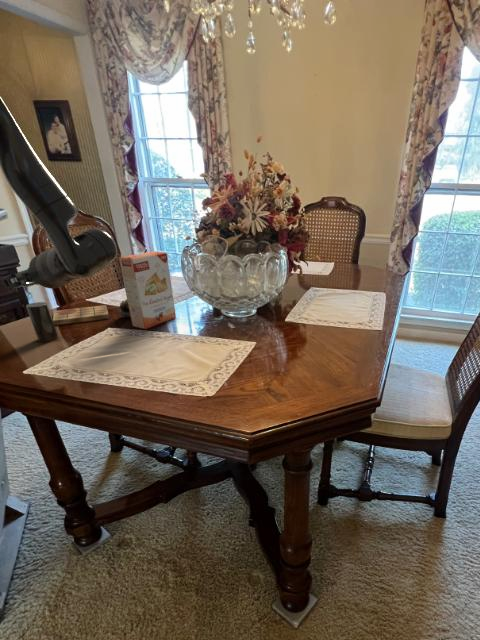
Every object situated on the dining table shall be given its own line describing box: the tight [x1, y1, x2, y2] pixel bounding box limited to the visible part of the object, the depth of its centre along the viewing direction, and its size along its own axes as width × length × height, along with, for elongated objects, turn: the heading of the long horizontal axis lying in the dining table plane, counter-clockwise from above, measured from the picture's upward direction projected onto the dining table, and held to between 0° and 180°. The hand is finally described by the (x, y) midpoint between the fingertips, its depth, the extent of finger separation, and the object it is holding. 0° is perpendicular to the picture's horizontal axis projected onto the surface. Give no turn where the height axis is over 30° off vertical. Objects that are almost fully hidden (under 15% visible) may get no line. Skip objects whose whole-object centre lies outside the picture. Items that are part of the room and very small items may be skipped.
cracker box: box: [118, 251, 177, 330], centre depth 117 cm, size 14×6×21 cm, turn 154°
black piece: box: [25, 301, 59, 343], centre depth 107 cm, size 5×5×10 cm
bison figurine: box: [118, 298, 131, 318], centre depth 125 cm, size 12×7×10 cm, turn 76°
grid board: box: [52, 304, 110, 326], centre depth 127 cm, size 16×12×2 cm
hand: (29, 280), depth 94 cm, fingers open, 8 cm apart
